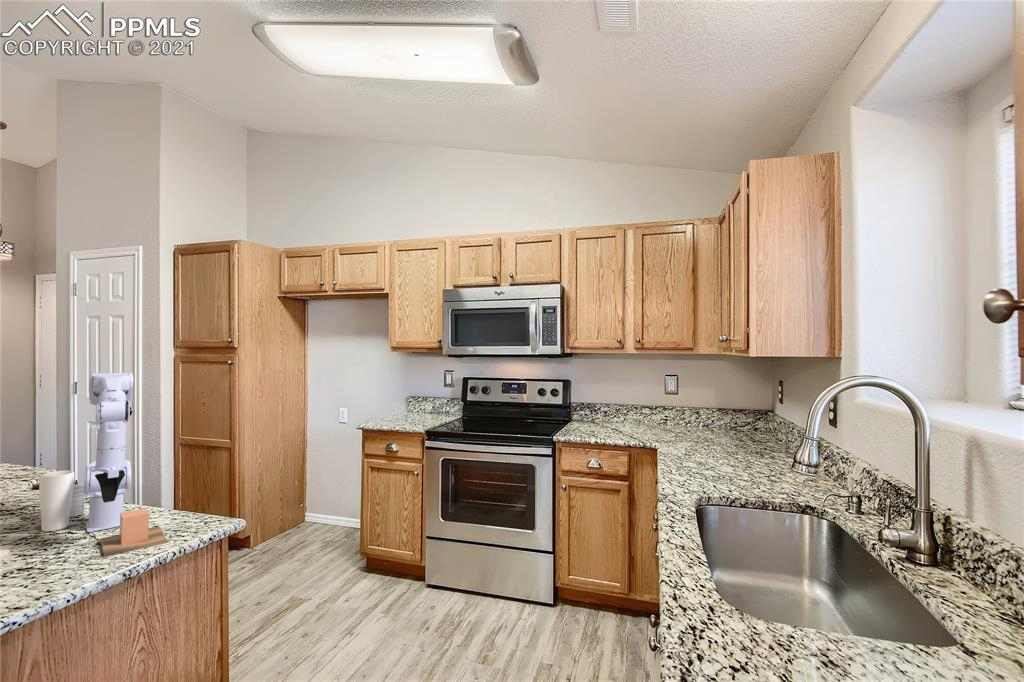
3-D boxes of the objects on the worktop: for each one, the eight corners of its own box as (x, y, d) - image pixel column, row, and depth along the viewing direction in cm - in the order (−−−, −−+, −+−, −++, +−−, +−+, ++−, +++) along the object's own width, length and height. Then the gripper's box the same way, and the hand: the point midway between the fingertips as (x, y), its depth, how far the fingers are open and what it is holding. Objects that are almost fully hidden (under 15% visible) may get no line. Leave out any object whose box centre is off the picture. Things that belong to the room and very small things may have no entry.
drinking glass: (30, 534, 119) (33, 477, 120) (48, 525, 126) (51, 470, 126) (61, 532, 121) (64, 476, 121) (78, 523, 128) (80, 469, 128)
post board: (100, 541, 116) (100, 522, 116) (158, 529, 124) (159, 511, 125) (104, 556, 107) (104, 536, 108) (166, 542, 116) (167, 523, 116)
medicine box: (81, 512, 136) (83, 483, 137) (84, 515, 133) (85, 486, 134) (44, 519, 130) (45, 488, 130) (45, 523, 127) (47, 492, 128)
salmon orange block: (119, 538, 116) (120, 512, 116) (145, 533, 120) (146, 508, 120) (121, 544, 112) (122, 518, 112) (148, 539, 116) (149, 513, 116)
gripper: (88, 446, 119) (85, 498, 118) (92, 454, 109) (89, 511, 108) (123, 442, 124) (121, 492, 123) (130, 450, 114) (128, 504, 113)
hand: (108, 501), depth 116 cm, fingers closed
